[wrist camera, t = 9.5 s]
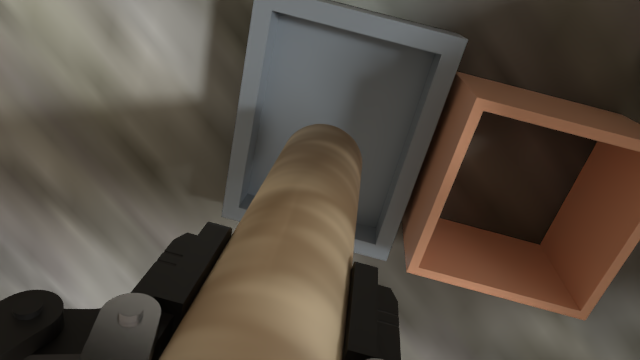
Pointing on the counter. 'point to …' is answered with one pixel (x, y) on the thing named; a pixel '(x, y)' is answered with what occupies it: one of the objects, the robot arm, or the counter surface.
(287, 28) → the slate tray
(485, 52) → the counter surface
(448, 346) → the counter surface
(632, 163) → the terracotta square open box
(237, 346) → the wooden dowel
